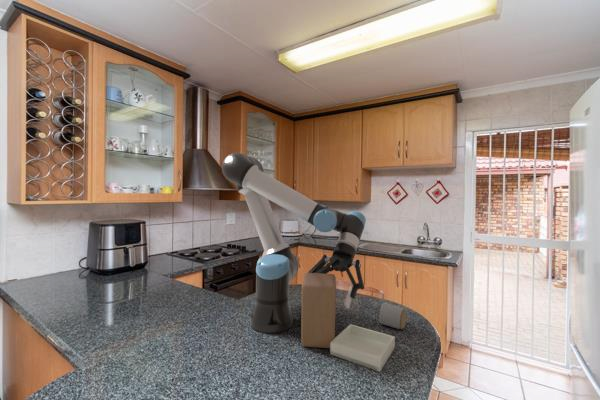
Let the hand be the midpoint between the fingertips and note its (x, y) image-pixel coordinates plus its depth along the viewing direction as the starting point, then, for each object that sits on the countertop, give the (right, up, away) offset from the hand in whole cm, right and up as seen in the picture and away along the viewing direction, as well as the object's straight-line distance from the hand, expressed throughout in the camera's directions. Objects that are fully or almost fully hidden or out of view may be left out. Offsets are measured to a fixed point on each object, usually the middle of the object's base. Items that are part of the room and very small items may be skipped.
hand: (326, 301), depth 92 cm
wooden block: (-3, -11, -1) cm, 12 cm away
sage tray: (+10, -12, -6) cm, 17 cm away
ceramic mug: (+25, -13, +12) cm, 31 cm away
